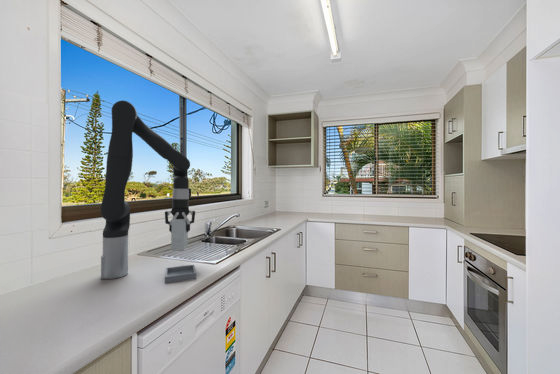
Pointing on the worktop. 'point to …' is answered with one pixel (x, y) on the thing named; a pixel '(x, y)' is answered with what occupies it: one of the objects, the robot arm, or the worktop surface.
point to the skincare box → (179, 235)
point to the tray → (180, 273)
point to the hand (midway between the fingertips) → (179, 232)
